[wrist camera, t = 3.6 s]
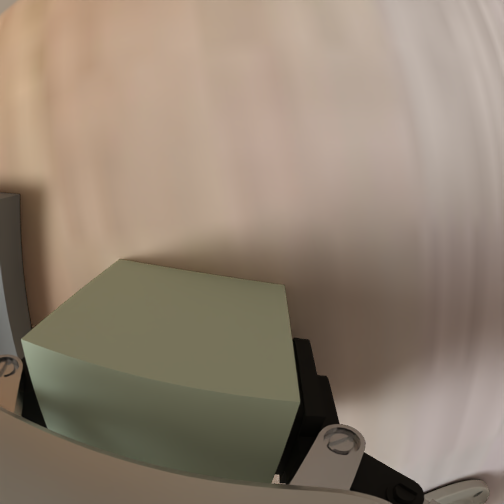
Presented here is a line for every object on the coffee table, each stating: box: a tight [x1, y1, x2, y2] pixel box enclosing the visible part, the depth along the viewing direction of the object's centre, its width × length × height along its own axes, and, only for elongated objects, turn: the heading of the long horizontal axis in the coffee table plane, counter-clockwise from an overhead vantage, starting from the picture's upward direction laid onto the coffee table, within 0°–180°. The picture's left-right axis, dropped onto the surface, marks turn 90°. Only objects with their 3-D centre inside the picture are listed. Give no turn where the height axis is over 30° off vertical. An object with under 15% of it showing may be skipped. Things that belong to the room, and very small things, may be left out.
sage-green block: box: [21, 259, 300, 483], centre depth 9 cm, size 6×6×6 cm
